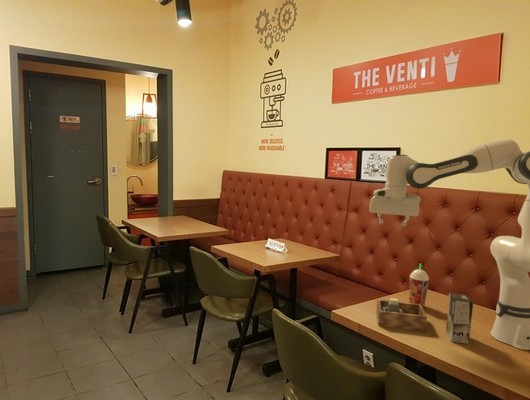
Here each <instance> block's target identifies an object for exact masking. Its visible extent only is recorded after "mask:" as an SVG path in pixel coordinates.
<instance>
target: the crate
mask: <svg viewBox="0 0 530 400" xmlns="http://www.w3.org/2000/svg"><path fill="white" fill-rule="evenodd" d="M388 301H389V300H383V299H376V311H375V313H376V319H377V326H379V327H387V328H394V329H395V328H396V329H402V330H410V331H411V330H412V331H417V332H426V330H427V320H428V318H427V315H426V312H425V310H424V307H422V306H421V304H413V303H410V302H403V301H398V303H399V313H397V312H389V311H388Z"/></svg>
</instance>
